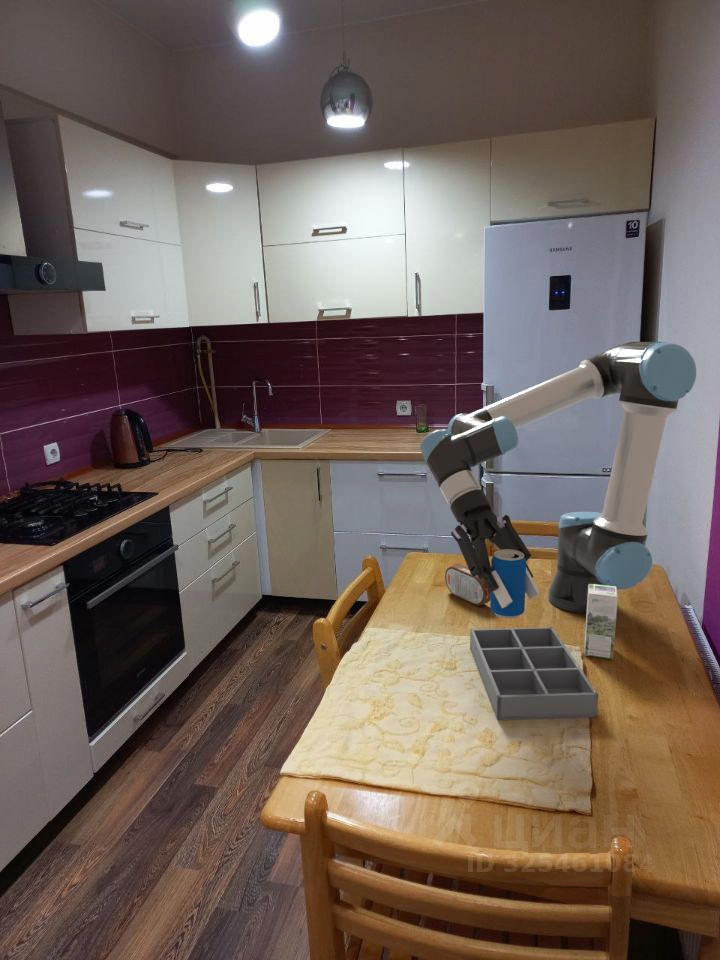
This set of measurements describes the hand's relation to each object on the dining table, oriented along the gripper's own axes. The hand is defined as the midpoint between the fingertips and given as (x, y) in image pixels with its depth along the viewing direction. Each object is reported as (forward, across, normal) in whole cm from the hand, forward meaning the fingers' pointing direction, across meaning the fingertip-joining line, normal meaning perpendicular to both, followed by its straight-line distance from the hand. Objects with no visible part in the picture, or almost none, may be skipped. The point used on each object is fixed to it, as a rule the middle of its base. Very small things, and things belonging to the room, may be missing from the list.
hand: (521, 600), depth 120 cm
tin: (-13, -19, -40) cm, 46 cm away
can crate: (+12, -4, -14) cm, 19 cm away
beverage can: (0, 0, -5) cm, 5 cm away
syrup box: (+12, -24, -14) cm, 31 cm away
